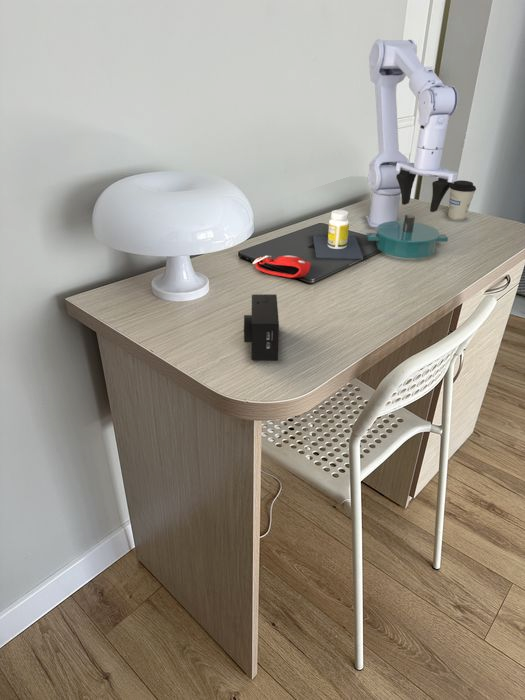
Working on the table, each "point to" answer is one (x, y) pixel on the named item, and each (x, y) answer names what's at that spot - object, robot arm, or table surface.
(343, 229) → the supplement bottle
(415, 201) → the table surface
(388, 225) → the pot lid
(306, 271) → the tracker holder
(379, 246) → the pot
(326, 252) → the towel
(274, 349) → the digital camera
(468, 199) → the coffee cup
